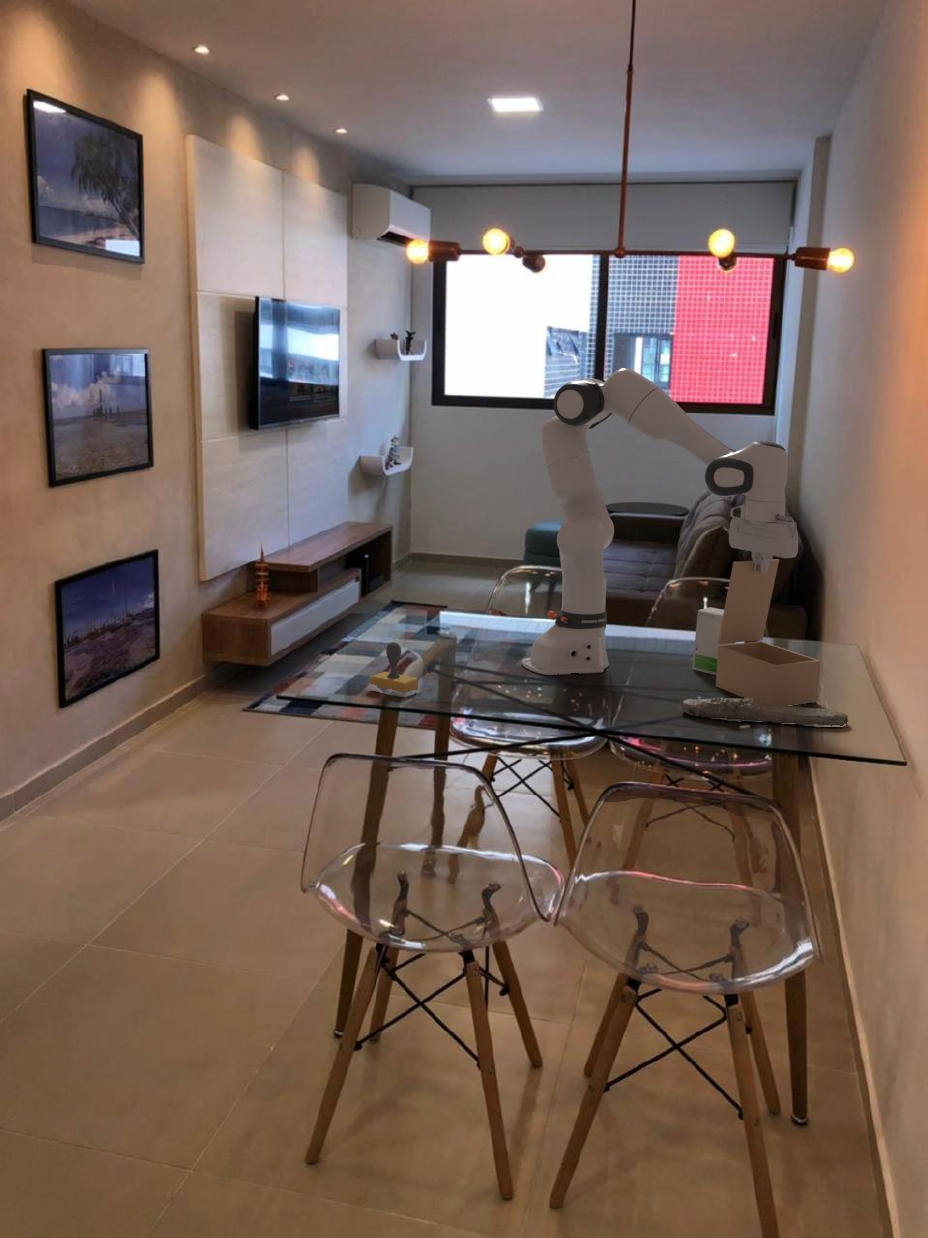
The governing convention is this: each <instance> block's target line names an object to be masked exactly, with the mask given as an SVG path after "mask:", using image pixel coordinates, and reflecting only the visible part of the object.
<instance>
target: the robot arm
mask: <svg viewBox="0 0 928 1238" xmlns="http://www.w3.org/2000/svg"><path fill="white" fill-rule="evenodd" d="M552 405H553V410H554V412H555V416H552V417H550V418H549V419H548V420H546V421H545V422H544V424H543V426H542V429H541V438H542V448H543V455H544V460H545V465H546V468H547V473H548V477H549V480H550V485H551V489H552V494H553V496H554V498H555V499H556V501H557V502H558V505H559V507H560V509H561V511H562V513H563V516H564V518H565V521H564V522H563V523H562V525H561V527H560V528H559V529H558V532H557V534H556V535H557V536H556V544H557V548H558V550H559V560H560V568H561V575H562V576H561V577H562V587H561V588H562V589H561V594H562V595H561V608H560V610H559V611H558V612H556V611H554V610H549V611H548V612H547V617H548V619H550V620H555V621H554V624H553V625H552V626H551V627H550V628H549V629H547V630H546V631H544V632H543V633H542V634H541V635H540V636H538V638H536V639H535V640H534V642H533V644H532V647H531V653H530V657H526V658H523V659H522V660H521V665H522V666H523V667H524V668H525V669H527V670H529V671H532V672H534V673H537V674H542V675H545V676H557V675H558V674H559V675H572V674H571V673H579V674H595V673H596V674H597V673H599V674H600V673H603V672H604V670H605V669H607V668H608V667H609V666H610V662H609V659H608V654H607V647H606V632H605V631H606V629H607V610H606V595H607V594H606V593H607V578H606V573H605V569H604V568H605V566H604V555H603V554H604V550H606V548H608V547H609V546H610V544H611V543H612V541H613V538H614V534H615V525H614V523H613V520H612V518H610V514H609V511H608V509H607V508H608V507H607V506H606V504H605V501H604V498H603V496H602V494H601V492H600V488H599V486H598V483H597V480H596V475H595V470H594V467H593V463H592V462H593V461H592V460H591V454H590V451H589V447H588V444H587V443H588V441H587V432H588V430H590V429H591V430H592V429H594V428H596V427H597V426H598V425H600V424H601V423H603V422H604V421H606V420H607V419H608V418H610V416H612V415H613V414H614V415H616V416H618V417H619V418H621V419H622V420H623V421H625V422H626V423H627V424H628V425H629V426H631V428H633V429H634V430H635V431H636V432H637V433H639V434H641V435H643V436H645V437H647V438H648V439H650V440H652V441H655V442H656V441H657V442H660V443H661V442H662V443H668V444H672V445H675V446H678V447H679V448H682V449H685V451H687V452H688V453H690V454H691V455H692V456H694V457H695V458H697V459H698V461H700V462H702V463H703V464H704V465H705V466H707V467H706V470H705V474H704V480H705V484H706V486H707V488H708V490H709V491H710V492H711V493H713V494H714V495H716V496H720V497H724V498H729V497H735V496H742V495H745V503H744V504H741V505H738V506H735V507H732V508H731V509H730V517H731V518H732V519H731V521H730V522H729V529H728V530H729V531H728V536H729V537H728V543H729V545H730V547H731V548H733V549H739V550H742V551H743V550H744V551H748V552H751V558H752V561H754V564H755V567H754V570H755V571H756V572H760V573H767V572H768V565H769V564H770V562H771V560H773V557H776V558H777V557H778V558H783V559H792V558H796V557H797V555H798V552H799V536H798V535H799V533H798V528H797V522H796V521H795V519H793V517H792V516H785V515H786V514H785V513H786V502H787V501H786V494H785V491H786V486H787V482H788V471H789V469H788V468H789V467H788V465H789V463H788V461H789V460H788V452H787V451H786V449H785V447H784V446H783V445H782V444H779V443H775V442H772V441H764V440H756V441H752V443H750V444H749V445H747V446H744V448H741V449H739V450H734V449H732V448H729V447H728V446H726V445H725V444H723V443H722V442H721V441H720V440H718V439H717V438H716V437H714V436H713V435H712V434H710V433H709V432H708V431H707V430H705V429H704V428H703V427H701V426H700V425H699V424H698V423H697V422H695V421H694V419H692V418H691V417H690V415H688V414H687V413H686V412H685V410H684V409H683V408H682V407H681V406H679V404H678V403H677V402H676V401H675V400H674V399H673V398H672V397H671V396H670V395H668V393H667V392H665V391H664V390H663V389H662V388H660V386H658V385H656V383H654V382H652V381H651V380H650V379H648V378H647V377H645V376H644V375H642V374H640V373H638V372H636V371H634V370H633V369H631V368H627V367H625V368H624V367H623V368H619V369H617V370H615V371H614V372H612V374H610V375H609V376H608V378H607V379H606V380H604V379H601V378H581V379H579V380H571V381H569V382H567V383H565V384H563V385H562V386H561V387H560V388H559V389H558V390H557V391H556V393H555V394H554V398H553V403H552Z"/></svg>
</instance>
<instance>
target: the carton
mask: <svg viewBox="0 0 928 1238" xmlns="http://www.w3.org/2000/svg"><path fill="white" fill-rule="evenodd" d="M820 669H821V660H820V659H817V658H814V657H811V656H807V655H805V654H802V653H798V652H795V651H792V650H789V649H787V648H783V647H780V646H777V645H775V644H771V643H768V642H765V641H763V640H759V641H749V642H740V643H735V644H732V645H722V646H718V659H717V673H716V675H715V677H716V678H715V687H717V688H719V689H722V690H724V691H726V692H729V693H731V694H734V695H736V696H737V697H738V696H739V697H741V698H743V697H744V698H743V699H745V698H752V699H754V700H756V702H760V703H766V704H770V705H782V706H788V705H793V704H798V703H804V702H810V701H817V700H818V693H819V692H818V691H819V681H820V679H819V678H820ZM817 702H818V701H817Z"/></svg>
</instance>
